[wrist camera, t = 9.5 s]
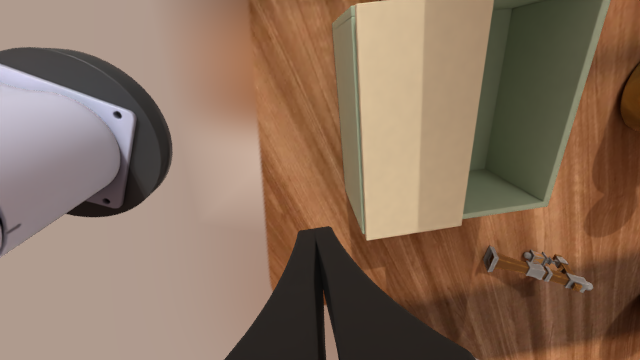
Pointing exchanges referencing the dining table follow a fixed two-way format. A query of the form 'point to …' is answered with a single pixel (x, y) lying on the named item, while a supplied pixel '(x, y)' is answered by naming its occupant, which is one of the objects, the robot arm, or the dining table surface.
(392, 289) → the dining table surface
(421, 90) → the door
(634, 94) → the brass weight
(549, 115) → the box
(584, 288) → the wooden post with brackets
